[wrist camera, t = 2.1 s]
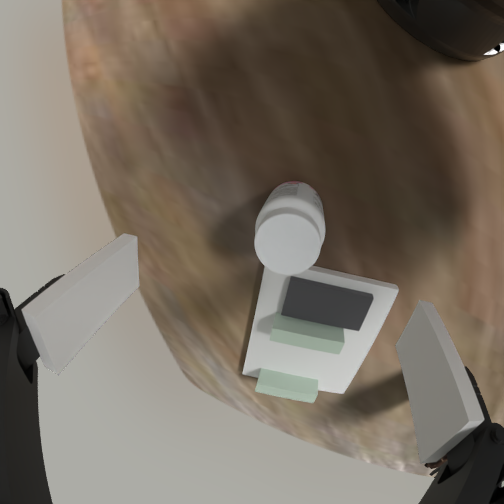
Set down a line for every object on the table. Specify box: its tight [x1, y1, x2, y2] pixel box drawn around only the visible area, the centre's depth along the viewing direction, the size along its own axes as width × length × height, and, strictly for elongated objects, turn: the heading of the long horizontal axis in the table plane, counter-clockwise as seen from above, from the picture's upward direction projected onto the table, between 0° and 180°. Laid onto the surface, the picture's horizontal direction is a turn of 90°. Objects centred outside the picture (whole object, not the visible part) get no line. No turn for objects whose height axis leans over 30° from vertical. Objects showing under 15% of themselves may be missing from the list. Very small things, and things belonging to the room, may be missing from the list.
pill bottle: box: [254, 181, 326, 275], centre depth 21 cm, size 5×5×8 cm
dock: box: [242, 265, 399, 403], centre depth 28 cm, size 16×13×4 cm
